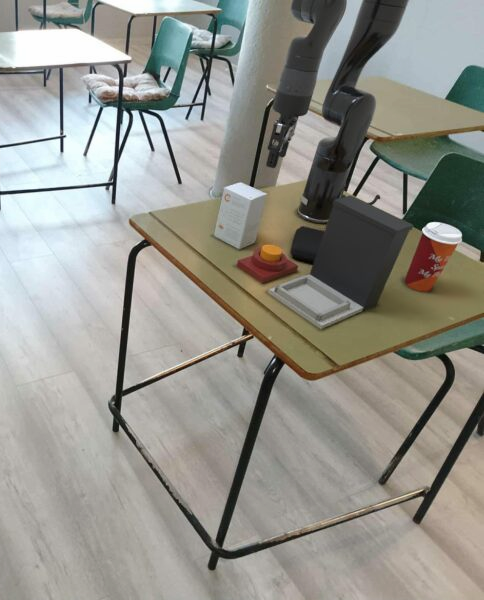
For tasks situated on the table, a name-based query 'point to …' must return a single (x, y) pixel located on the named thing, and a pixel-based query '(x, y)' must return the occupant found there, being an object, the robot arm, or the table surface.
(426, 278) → the paper cup
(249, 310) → the table surface
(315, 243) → the carrying case
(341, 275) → the coffee dock
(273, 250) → the button
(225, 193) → the small box
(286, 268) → the button panel
